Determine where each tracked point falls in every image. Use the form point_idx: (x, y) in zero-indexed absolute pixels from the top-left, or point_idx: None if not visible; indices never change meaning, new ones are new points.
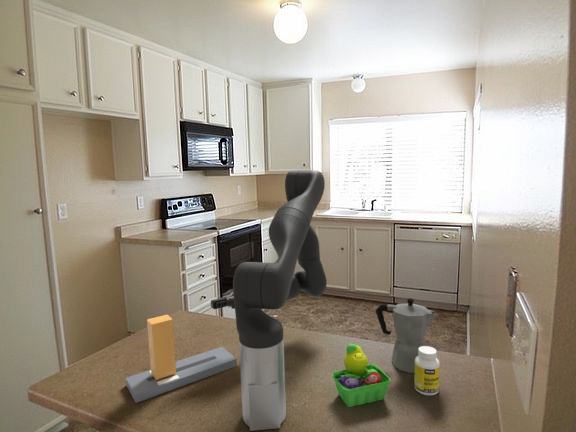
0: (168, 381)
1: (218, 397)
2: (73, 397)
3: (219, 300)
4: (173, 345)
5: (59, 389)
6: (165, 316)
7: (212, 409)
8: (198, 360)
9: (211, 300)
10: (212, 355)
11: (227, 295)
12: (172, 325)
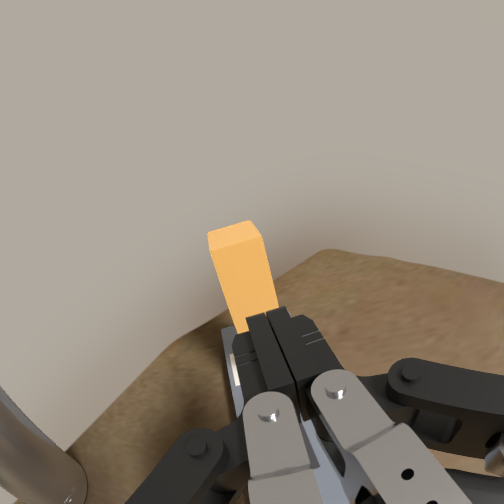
0: (231, 367)
1: (151, 454)
2: (284, 279)
3: (255, 348)
4: (233, 321)
5: (312, 263)
6: (245, 236)
7: (127, 435)
8: (308, 424)
9: (282, 306)
10: (326, 461)
11: (367, 404)
12: (216, 269)
